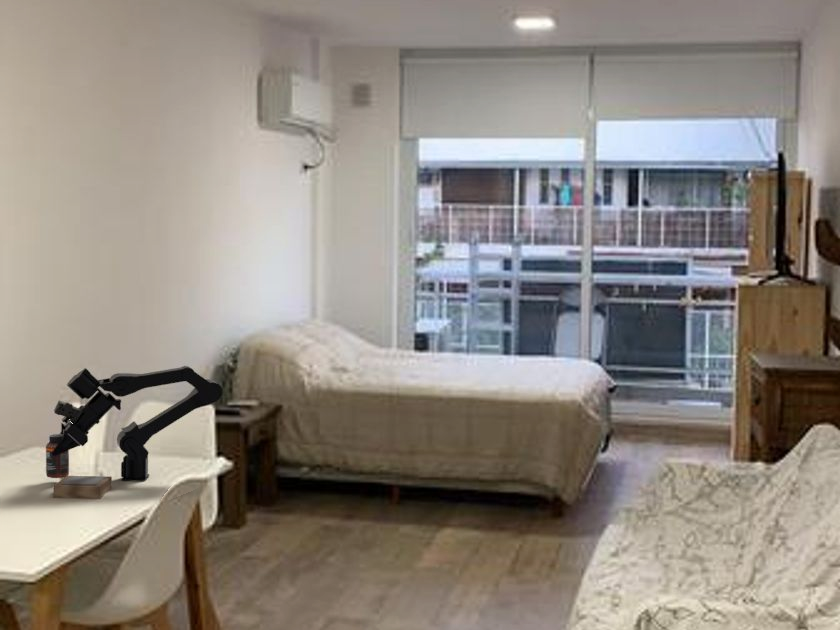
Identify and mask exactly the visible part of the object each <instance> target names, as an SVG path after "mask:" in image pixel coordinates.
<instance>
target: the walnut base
mask: <svg viewBox="0 0 840 630" xmlns="http://www.w3.org/2000/svg"><path fill="white" fill-rule="evenodd" d="M112 481H113V480H112V476H108V475H107V476H102V475H100V476H99V475H97V476H96V475H95V476H94V475H68V476H66V477H63V478H61V479H60V480H59V481H58V482H57V483H55V485H53V487H52V488H53V496H52V497H53V498H57V499H58V498H59V499H102V498H103V497H104V495H105V494H107V493H108V492H109V491H110V490H111V489H112V488H113V487H112V486H113V485H112Z"/></svg>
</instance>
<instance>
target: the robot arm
mask: <svg viewBox="0 0 840 630" xmlns="http://www.w3.org/2000/svg"><path fill="white" fill-rule="evenodd" d="M182 382H186V383H188V384H189V385H191V386H192V387H194V388H193V389H192V390H191V391H190V392H189V394H188V395H187V396H185V397H184V398H182V399H181V400H179V401H178V402H176V403H174V404H173V405H171V406H170V407H168V408H166V409H165V410H163V411H162V412H160V413H158V414H156V415H154V416H153V417H151V418H150V419H148V420H147V421H144V422H143V423H140V424H137V423H136V421H132V422H131V423H130V424H128V425H127V426H125V427H121V431H120V432H119V433H118V434H117V437H116V444H117V446H118V447H119V449H120V451H122V453H124V454H125V455H124V456H123V458H122V459H123V460H122V462H121V465H120V477H121V481H129V482H130V481H135V482H136V481H138V482H139V481H140V482H143V481H144V482H145V481H146V480H147V479H148V478H149V477H150V474H149V450H147V448H146V447H145V445H146V443H148V441H149V440H150V439H151V438H152V437H153V436H155V435H157V434H158V433H159V432H161V431H162V430H164V429H165V428H168V426H171V425H173V423H175V422H177V421H178V420H181V419H182V418H183V417H185V416H186V415H188V414H190V413H191V412H193V411H195V410H196V409H200V408H203V407H206V406H209V405H211V404H214V403H216V402H218V401H219V400H221V398H222V397H223V389H222V386H221V385H220V383H218V382H217V381H215V380H213V379H208V378H207V379H206V378H204V377H203V376H201V375H200V374H199V373H197V372H196V371H194V369H193V368H192V367H190V366H188V365H184V366H180V367H176V368H168V369H163V370H158V371H151V372H145V373H131V372H129V373H126V372H123V373H120V372H118V373H114V374H112V375H111V376H110V377H108V378H102V379H97V378H96V377H95V376H94V375H93V374H92V373H91V372H90V371H89V369H87V368H86V367H85V368H83V369H82V370H80V371H79V372H78V373H77V374H74V375H73V376H72V377H71V379H69V381H68V382H67V384H66V386H67V387H68V388H69V389H70V390H71V391H72V392H74V394H75V395H77V396H78V398H79V399H81V400H83V399H87V400H88V401H87V403H85V404H82V405H80V406H78V407H76V406H75V405H73V404H72V403H69V402H68V401H67V402H65V401H62V400H58V401H57V403H56V405H55V407H54V410H53V412H54V414H55V415H57V416H58V415H59V416H62V419H61V420H62V422H61V423H60V428H61V430H60V433H59V434H63V438H62V439H61V440H60V442H59V443H58V445H57V446H56V447H55V449H54V450H53V452H52V455H53V456H56V455H58V454H60V453H63V452H65V451H67V450H69V451H70V450H72V449H74V448H78V447H80V446H82V447H84V446H85V445H86V444H87V443H88V441H89V436H88V434H89V433H90V432H89V431H90V430H91V429H92V428H93V427H94V426H96V425H99V423H100V422H101V419H102V418H103V417H104V416H106V414H108V412H109V411H110V410H111V409H112V408H113V407H115V408H116V409H117V410H118V411H121V409H122V407H121V404H122V400H121V397H123V398H124V397H126V396H130V395H132V394H135V393H137V392H140V391H141V390H144V389H146V388H153V387H160V386H165V385H171V384H177V383H182ZM100 388H101V389H102V390H103V391H102V390H101V389H100ZM104 391H105V392H107V393H104ZM110 392H111V393H112V394H113V395H114V396H115V397H119V398H117V399H116V398H115V397H114V396H113V395H112V394H111V393H110ZM69 419H70V420H69ZM70 421H71V422H72V423H73V424H72V423H71V422H70Z"/></svg>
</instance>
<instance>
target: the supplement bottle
mask: <svg viewBox="0 0 840 630" xmlns="http://www.w3.org/2000/svg"><path fill="white" fill-rule="evenodd" d="M48 438H49V439H48V440H49V442H47V443H46V446H45V469H46V470H45V473H46V474H45V475H46V477H48V478H50V479H63V478H64V477H66V476H70V456H69V455H70V454H69V451H70V450H67V451H65V452H63V453H60V454H58V455H56V456H53V455H52V452H53V450H54V449H55V447H56V446H57V445H58V443H59V442H60V440H61V439H62V438H63V434H60V433H54V434H50V435H49V437H48Z"/></svg>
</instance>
